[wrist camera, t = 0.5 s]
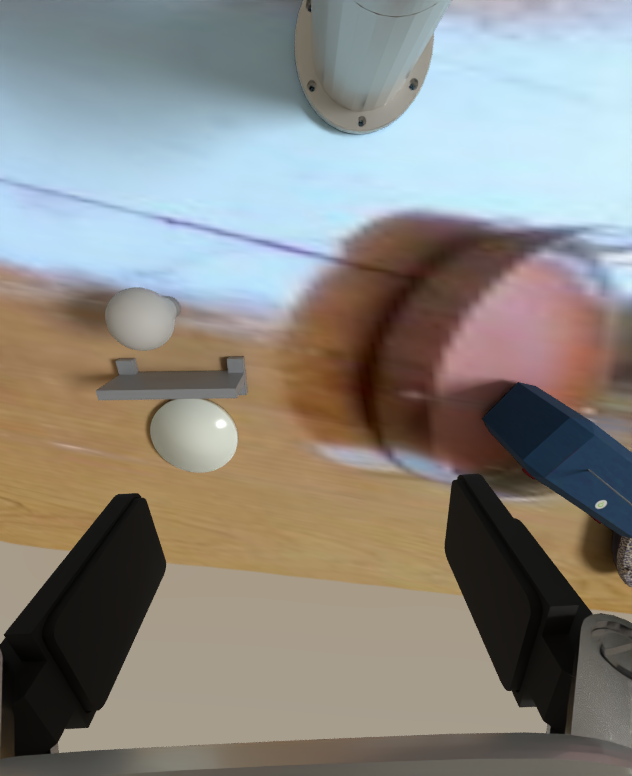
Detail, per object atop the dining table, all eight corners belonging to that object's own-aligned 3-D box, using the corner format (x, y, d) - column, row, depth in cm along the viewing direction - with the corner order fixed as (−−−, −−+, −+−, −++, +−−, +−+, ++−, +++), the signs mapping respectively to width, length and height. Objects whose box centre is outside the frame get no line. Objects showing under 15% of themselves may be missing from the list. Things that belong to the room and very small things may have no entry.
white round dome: (144, 396, 45) (141, 399, 44) (233, 395, 45) (231, 398, 44) (161, 469, 50) (159, 473, 49) (242, 468, 50) (241, 471, 49)
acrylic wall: (119, 358, 43) (91, 375, 37) (244, 356, 43) (233, 373, 37) (128, 393, 45) (102, 414, 39) (247, 391, 45) (238, 412, 39)
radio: (470, 421, 47) (571, 534, 29) (517, 373, 44) (663, 464, 26) (567, 487, 52) (707, 620, 33) (615, 447, 49) (797, 569, 31)
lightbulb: (153, 332, 42) (102, 360, 31) (140, 281, 39) (81, 293, 29) (202, 329, 41) (166, 357, 31) (192, 278, 39) (150, 290, 29)
